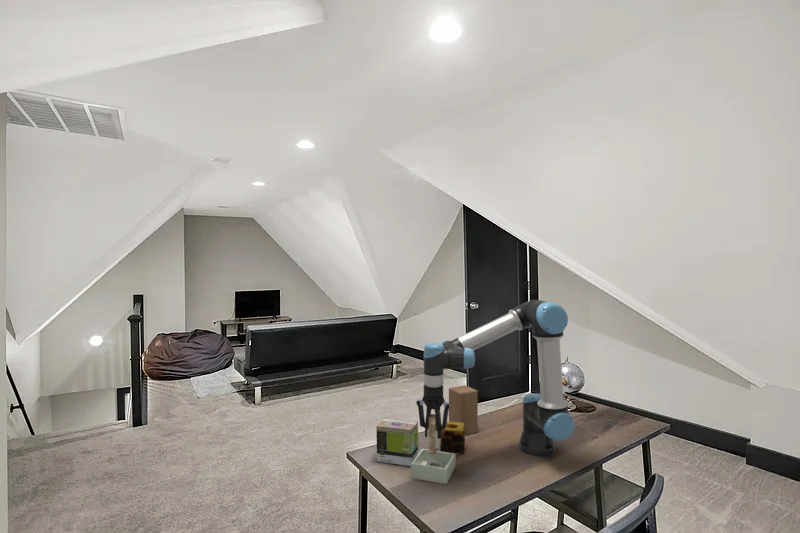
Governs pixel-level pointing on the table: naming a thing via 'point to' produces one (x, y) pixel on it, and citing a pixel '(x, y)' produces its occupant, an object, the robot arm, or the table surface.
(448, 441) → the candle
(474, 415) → the wooden block
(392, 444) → the tea box
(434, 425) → the long wooden plank
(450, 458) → the pale green square tray
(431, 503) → the table surface
